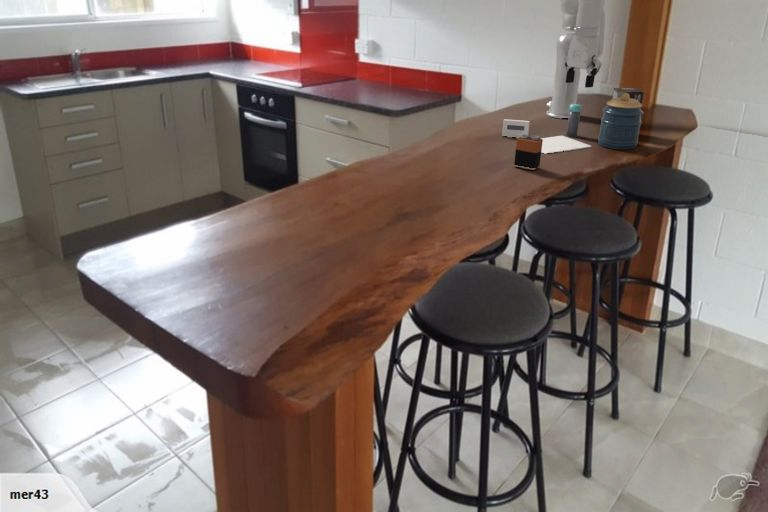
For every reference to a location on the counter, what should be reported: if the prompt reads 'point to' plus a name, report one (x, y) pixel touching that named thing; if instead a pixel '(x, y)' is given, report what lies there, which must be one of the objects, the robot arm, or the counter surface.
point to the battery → (528, 151)
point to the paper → (561, 144)
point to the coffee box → (633, 93)
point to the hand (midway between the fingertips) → (579, 84)
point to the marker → (573, 120)
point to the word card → (515, 128)
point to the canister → (620, 123)
